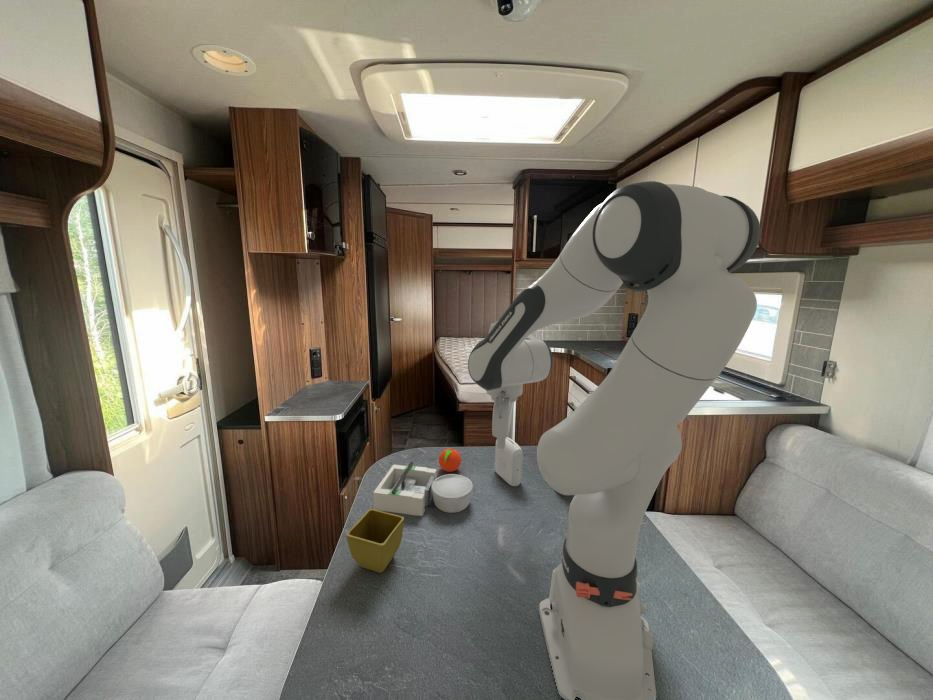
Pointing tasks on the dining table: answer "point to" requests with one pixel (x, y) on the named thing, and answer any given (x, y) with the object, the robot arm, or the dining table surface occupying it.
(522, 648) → the dining table surface
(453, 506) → the ramekin
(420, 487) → the grey metal pieces
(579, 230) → the robot arm
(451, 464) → the red tomato
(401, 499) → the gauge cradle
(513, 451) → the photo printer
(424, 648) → the dining table surface
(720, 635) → the dining table surface
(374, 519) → the flower pot
